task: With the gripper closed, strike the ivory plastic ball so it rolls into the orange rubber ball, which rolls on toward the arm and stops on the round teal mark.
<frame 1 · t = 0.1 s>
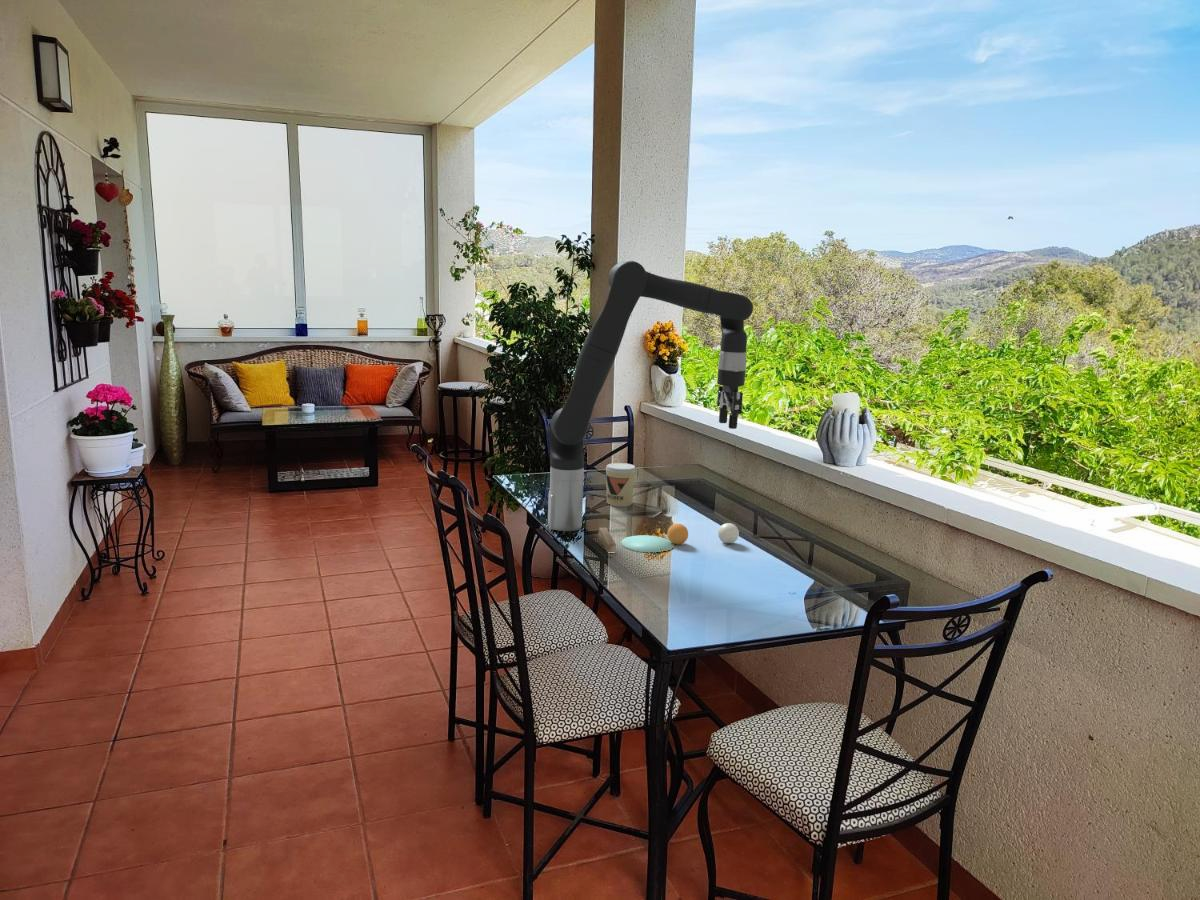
hand: (727, 425, 222), 29 cm above the table, tool pointing down, fingers open, 8 cm apart
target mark: (647, 544, 208), on the table
stopper: (606, 544, 206), on the table
object ball: (677, 533, 209), on the table
coffee cup: (619, 503, 247), on the table
cue ball: (728, 533, 211), on the table
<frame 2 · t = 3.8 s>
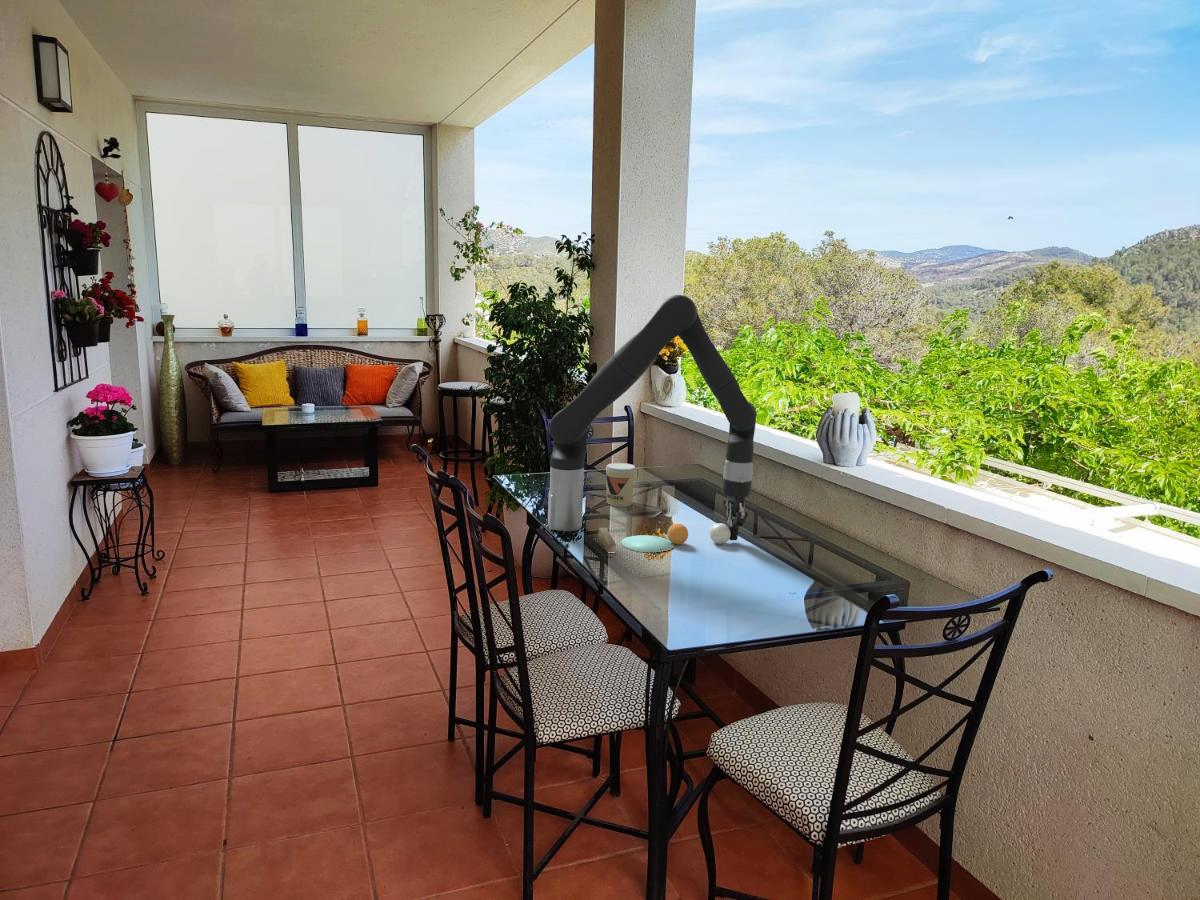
hand: (732, 539, 212), 1 cm above the table, tool pointing down, fingers closed
cue ball: (720, 533, 211), on the table, touching gripper
everything else where it was.
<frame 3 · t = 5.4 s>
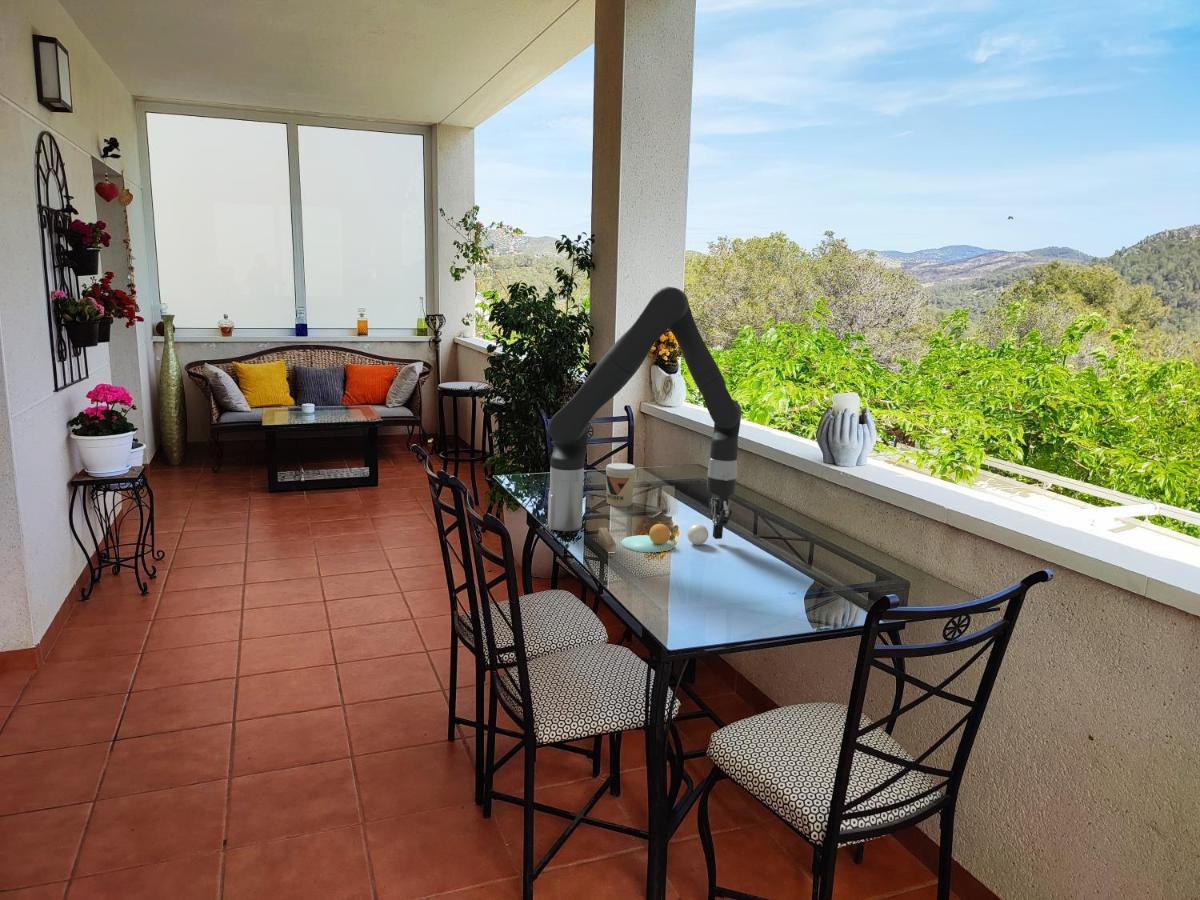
hand: (717, 537, 211), 2 cm above the table, tool pointing down, fingers closed
object ball: (659, 534, 208), on the table
cue ball: (697, 534, 209), on the table
everything else where it was.
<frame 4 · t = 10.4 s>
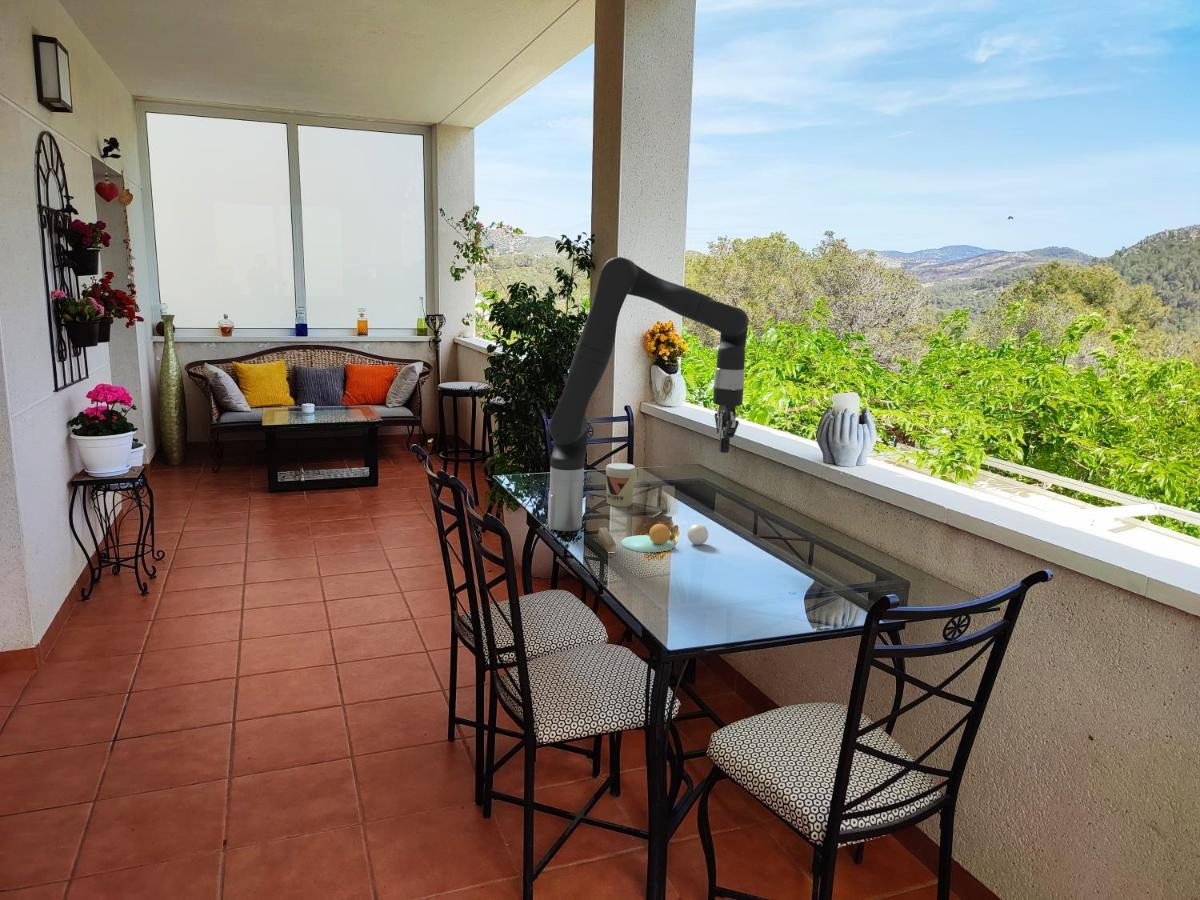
hand: (723, 452, 206), 25 cm above the table, tool pointing down, fingers closed
nothing on the table moved.
at the end: object ball 3.0 cm from the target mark (horizontally); object ball never touched the robot; cue ball first touched object ball at 4.1 s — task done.
